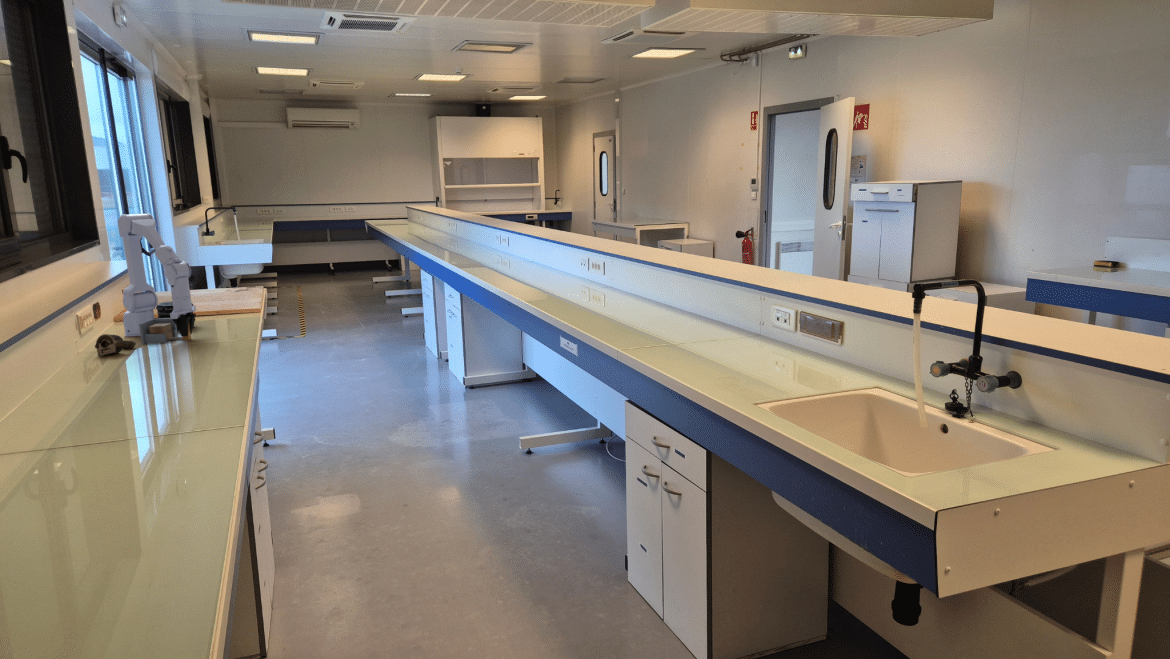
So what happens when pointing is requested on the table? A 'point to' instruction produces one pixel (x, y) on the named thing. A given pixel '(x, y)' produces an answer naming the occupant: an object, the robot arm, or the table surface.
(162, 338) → the grey u-shaped cradle
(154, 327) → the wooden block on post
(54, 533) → the table surface
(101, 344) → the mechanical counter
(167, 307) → the container
